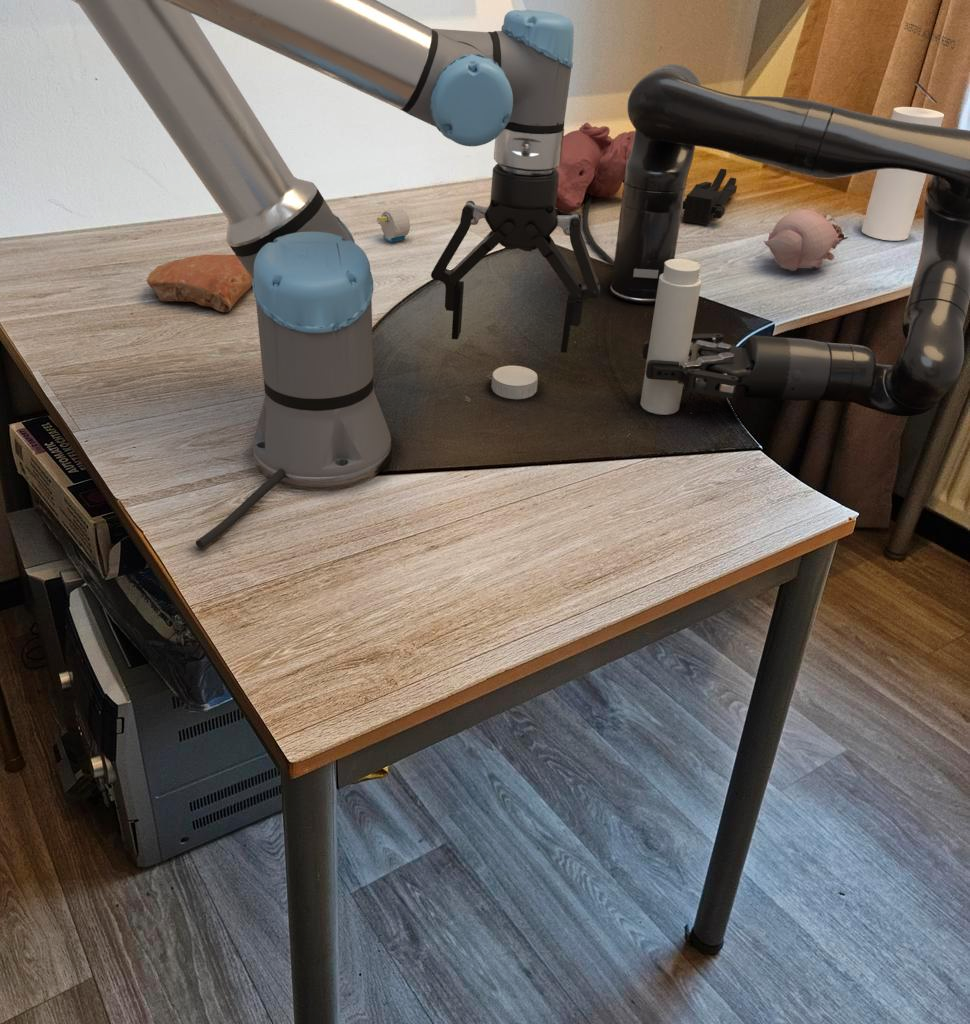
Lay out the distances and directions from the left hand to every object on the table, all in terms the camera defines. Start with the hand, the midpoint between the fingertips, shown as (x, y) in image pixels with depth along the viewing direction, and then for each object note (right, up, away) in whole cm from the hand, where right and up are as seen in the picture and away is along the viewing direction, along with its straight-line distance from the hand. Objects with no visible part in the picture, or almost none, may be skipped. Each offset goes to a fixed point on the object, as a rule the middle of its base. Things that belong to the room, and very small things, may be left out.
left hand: (510, 341), depth 120 cm
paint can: (+73, +32, +65) cm, 103 cm away
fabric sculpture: (+15, +40, +72) cm, 84 cm away
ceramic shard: (-46, +12, +26) cm, 54 cm away
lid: (+1, -4, +3) cm, 5 cm away
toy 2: (+51, +21, +47) cm, 73 cm away
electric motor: (-20, +27, +49) cm, 59 cm away
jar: (+19, -8, +2) cm, 21 cm away
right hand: (+17, -2, -2) cm, 17 cm away
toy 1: (+43, +41, +76) cm, 96 cm away
